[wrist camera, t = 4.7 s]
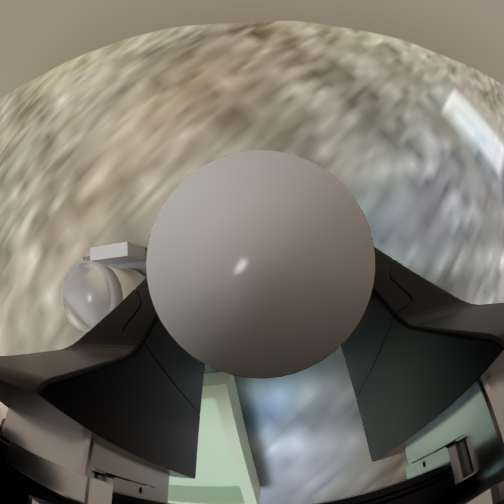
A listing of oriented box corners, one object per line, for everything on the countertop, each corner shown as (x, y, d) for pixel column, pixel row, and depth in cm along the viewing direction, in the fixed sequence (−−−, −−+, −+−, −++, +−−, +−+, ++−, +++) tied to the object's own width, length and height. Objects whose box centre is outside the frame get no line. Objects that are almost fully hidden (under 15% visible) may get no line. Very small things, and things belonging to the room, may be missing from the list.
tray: (260, 486, 15) (258, 508, 12) (138, 482, 16) (125, 499, 13) (232, 370, 17) (226, 383, 14) (99, 377, 17) (79, 386, 14)
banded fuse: (303, 307, 16) (390, 349, 4) (242, 319, 16) (167, 388, 4) (292, 247, 16) (343, 138, 4) (232, 258, 16) (139, 176, 4)
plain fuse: (158, 320, 16) (117, 329, 12) (112, 325, 17) (66, 333, 12) (149, 264, 17) (108, 254, 12) (105, 273, 17) (58, 266, 12)
